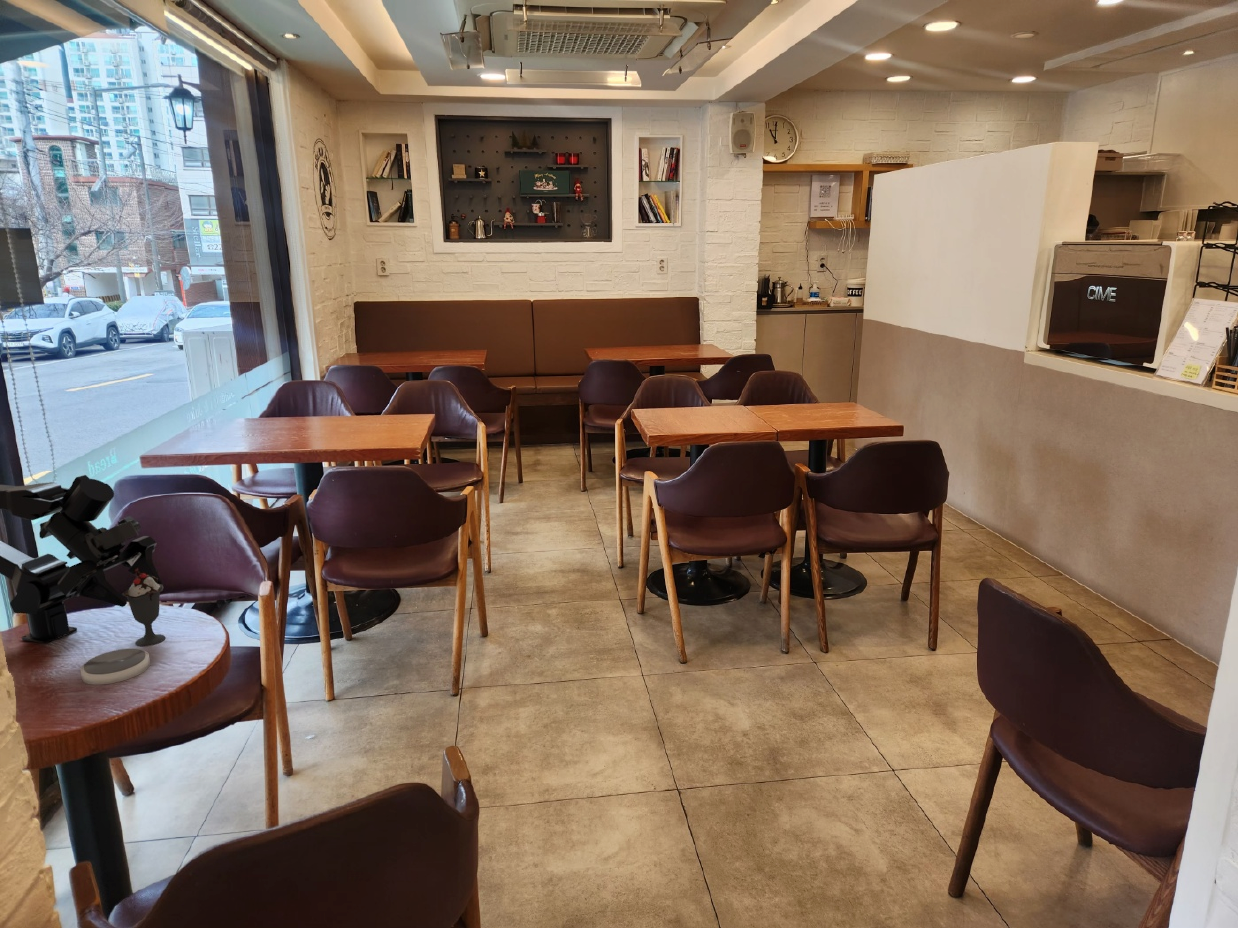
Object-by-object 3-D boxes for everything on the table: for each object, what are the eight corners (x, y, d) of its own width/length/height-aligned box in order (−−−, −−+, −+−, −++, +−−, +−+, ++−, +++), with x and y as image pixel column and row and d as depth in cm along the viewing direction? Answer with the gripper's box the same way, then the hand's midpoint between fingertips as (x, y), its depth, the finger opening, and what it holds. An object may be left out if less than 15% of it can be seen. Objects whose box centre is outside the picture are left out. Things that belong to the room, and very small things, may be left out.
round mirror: (67, 679, 132) (65, 668, 132) (121, 654, 142) (119, 644, 141) (111, 688, 129) (109, 677, 129) (163, 661, 139) (161, 651, 138)
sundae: (139, 651, 143) (127, 573, 140) (123, 642, 147) (111, 566, 144) (177, 638, 148) (166, 563, 145) (161, 630, 152) (150, 556, 149)
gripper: (61, 522, 134) (129, 585, 134) (140, 495, 152) (200, 550, 152) (28, 565, 136) (95, 626, 137) (110, 533, 154) (169, 587, 155)
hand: (143, 595), depth 145 cm, fingers open, 9 cm apart
